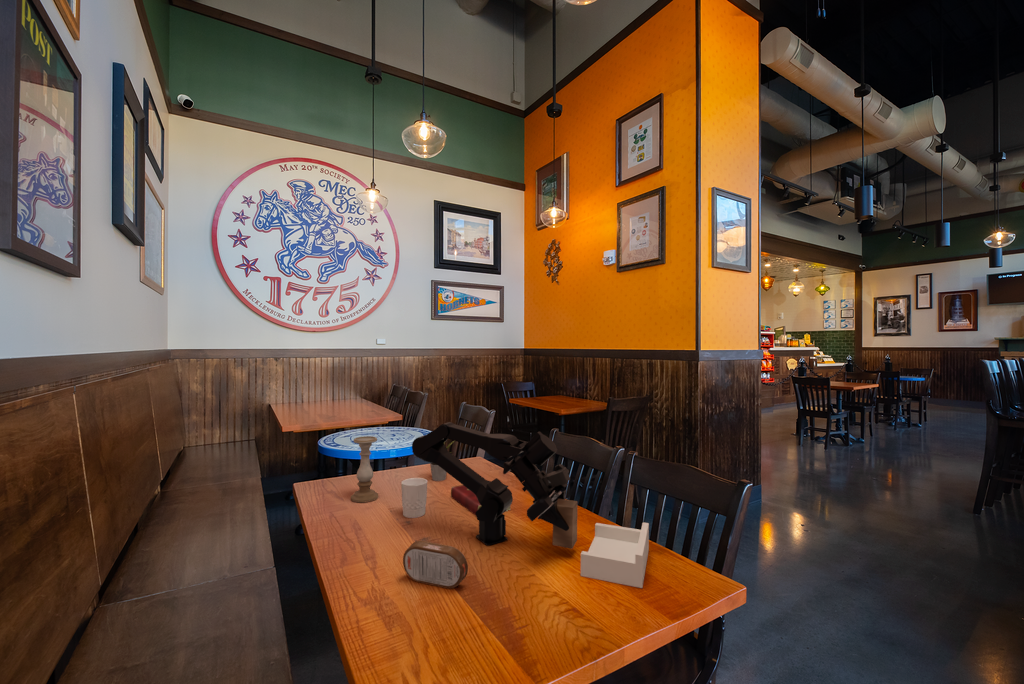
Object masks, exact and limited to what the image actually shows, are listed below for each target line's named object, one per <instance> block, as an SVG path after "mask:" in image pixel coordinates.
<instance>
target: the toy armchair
mask: <svg viewBox="0 0 1024 684" xmlns="http://www.w3.org/2000/svg"><path fill="white" fill-rule="evenodd" d="M649 530H650V523H649V522H642V523H641V529H637V528H633V527H632V528H631V527H625V526H619V525H613V524H605V523H600V522H596V523H595V524H594V538H593V539H592V542H591V544H590V547H589V548H588V550H587V551H584V550H582V551H581V553H580V577H584V578H588V579H589V578H590V579H594V580H600V581H605V582H609V583H614V584H619V585H623V586H629V587H635V588H640V589H643V588H644V587H643V586H644V581H645V574H646V567H647V563H648V562H647V561H648V556H649V552H650V551H649V547H650V544H649V539H650V538H649V536H650V534H649V533H650V531H649Z"/></svg>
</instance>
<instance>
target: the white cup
mask: <svg viewBox="0 0 1024 684" xmlns="http://www.w3.org/2000/svg"><path fill="white" fill-rule="evenodd" d="M400 483H401V484H400V485H401V503H402V505H401V506H402V515H403V517H405V518H409V519H416V518H420V517H423V516H424V515H425V514H426V507H427V506H426V505H427V497H428V496H427V495H428V479H426V478H423V477H410V478H406V479H404V480H401V482H400Z"/></svg>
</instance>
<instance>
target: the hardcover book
mask: <svg viewBox="0 0 1024 684" xmlns="http://www.w3.org/2000/svg"><path fill="white" fill-rule="evenodd" d="M450 495H451V496H450V498H452V499H453V500H454V501H456V502H458V504H460V505H461V506H462V507H464V508H466V509H467V510H468V511H469V512H471V513H472V514H473V515H474V516H476V514H475V512H476V511H477V510H478V509H479V508H480V507H482V506H481V505H480V503H479V501H478V499H477V497H476V495H475V494H474V493H473V492H471V491H470V490H469V489H468V488H466V487H465V486H464V485H462V484H461V485H455V486H451V488H450ZM508 510H510V511H511V505H510V506H509V507H508V508H507V510H506V512H509V511H508Z"/></svg>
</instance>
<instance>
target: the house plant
mask: <svg viewBox="0 0 1024 684" xmlns="http://www.w3.org/2000/svg"><path fill="white" fill-rule="evenodd" d="M454 442H456V441H453V440H452V442H450V443H449V444H448V445H447V446H446V448H447V450H448V449H449V448H450V447H451V445H452V444H453V443H454ZM445 443H446V441H445V442H444V444H445ZM445 445H446V444H445ZM449 452H450V453H451V454H452V453H453V451H449ZM429 464H430V471H431V473H430V474H431V478H432V479H431V480H432V481H435V482H442V481H445V480H446V479H447V474H448V473H447V472H446V471H444V470H443V469H442V468H441V467H439V466H438V465H437V464H434V463H430V462H429Z"/></svg>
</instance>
